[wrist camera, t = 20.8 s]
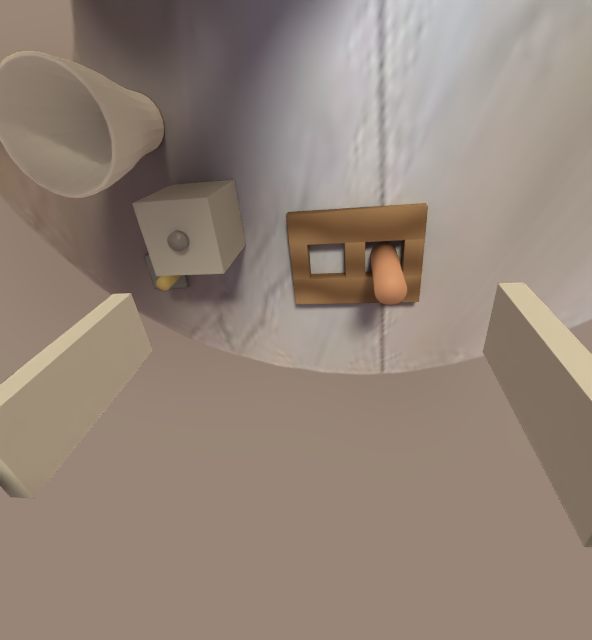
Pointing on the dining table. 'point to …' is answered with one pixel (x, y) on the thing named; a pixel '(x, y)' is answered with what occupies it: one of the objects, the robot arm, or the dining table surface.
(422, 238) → the board
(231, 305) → the dining table surface
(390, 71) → the dining table surface
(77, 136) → the cup
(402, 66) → the dining table surface
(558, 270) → the dining table surface
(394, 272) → the peg
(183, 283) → the pad
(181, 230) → the block
